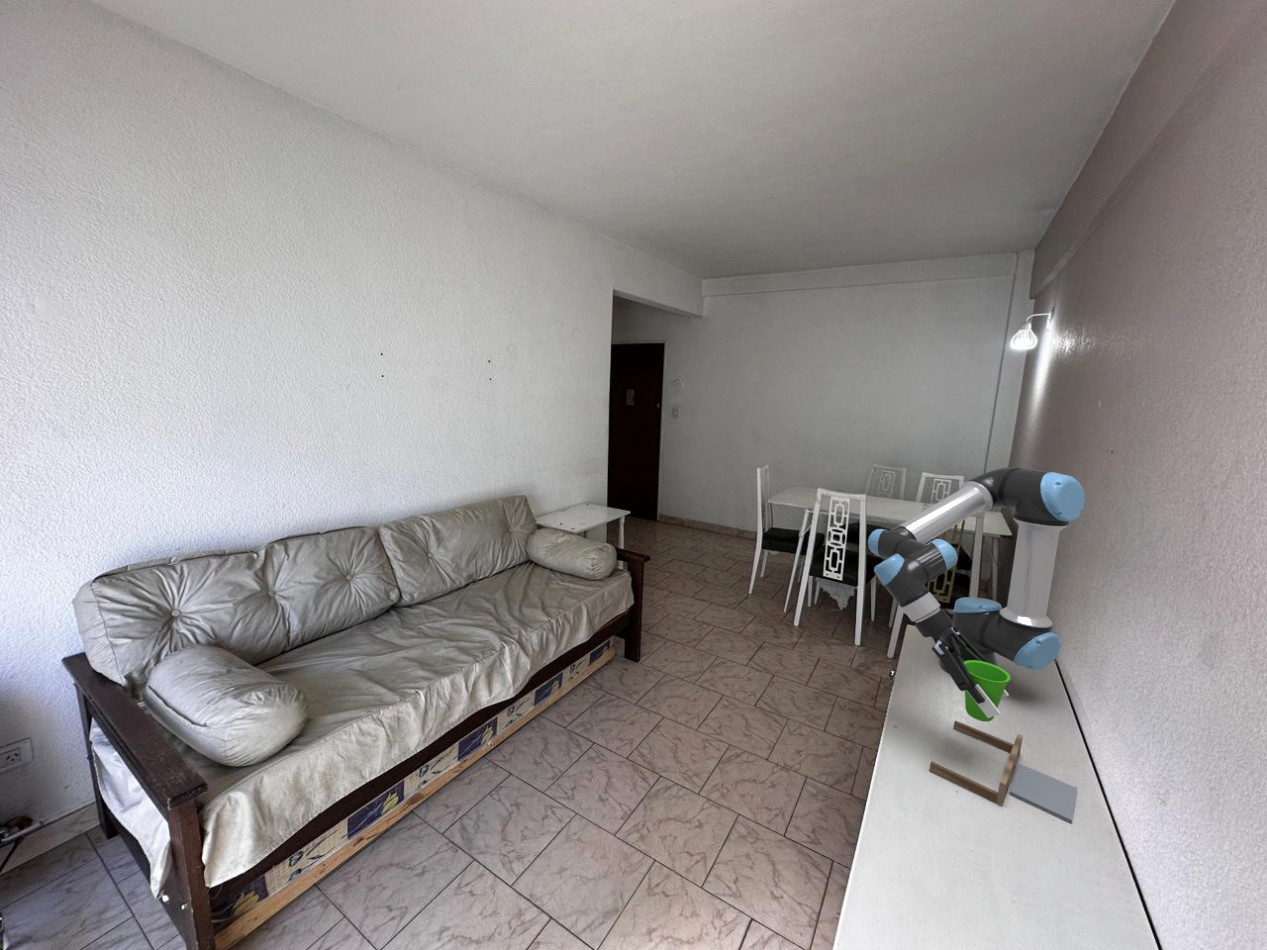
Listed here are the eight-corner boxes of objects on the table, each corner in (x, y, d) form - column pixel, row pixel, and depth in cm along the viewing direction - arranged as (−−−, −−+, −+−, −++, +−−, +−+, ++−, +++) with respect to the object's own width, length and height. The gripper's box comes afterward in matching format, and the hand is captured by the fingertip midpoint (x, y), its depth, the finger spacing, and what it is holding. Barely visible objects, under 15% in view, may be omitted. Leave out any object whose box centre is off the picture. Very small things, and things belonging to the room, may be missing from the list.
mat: (1018, 766, 115) (1019, 763, 115) (1076, 791, 108) (1077, 788, 108) (1009, 794, 106) (1010, 791, 106) (1071, 823, 100) (1072, 820, 99)
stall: (954, 727, 128) (956, 709, 127) (1019, 754, 119) (1022, 735, 118) (929, 771, 113) (931, 751, 112) (1002, 806, 103) (1005, 785, 103)
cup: (946, 707, 117) (952, 663, 115) (973, 699, 120) (979, 657, 118) (985, 731, 108) (993, 685, 107) (1013, 722, 112) (1020, 677, 110)
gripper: (927, 609, 130) (992, 692, 121) (899, 636, 115) (971, 733, 106) (953, 596, 125) (1023, 681, 117) (927, 622, 110) (1005, 722, 102)
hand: (998, 705), depth 111 cm, fingers closed on cup, 9 cm apart
